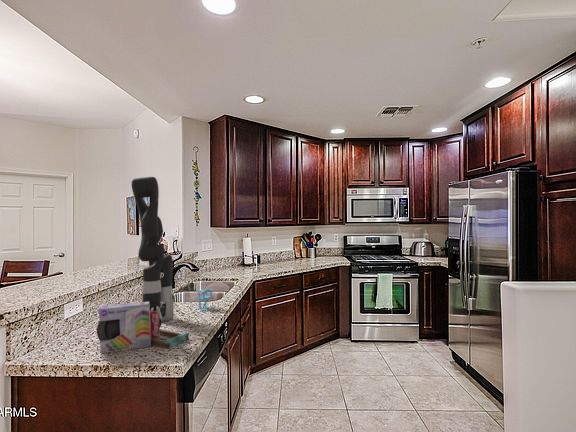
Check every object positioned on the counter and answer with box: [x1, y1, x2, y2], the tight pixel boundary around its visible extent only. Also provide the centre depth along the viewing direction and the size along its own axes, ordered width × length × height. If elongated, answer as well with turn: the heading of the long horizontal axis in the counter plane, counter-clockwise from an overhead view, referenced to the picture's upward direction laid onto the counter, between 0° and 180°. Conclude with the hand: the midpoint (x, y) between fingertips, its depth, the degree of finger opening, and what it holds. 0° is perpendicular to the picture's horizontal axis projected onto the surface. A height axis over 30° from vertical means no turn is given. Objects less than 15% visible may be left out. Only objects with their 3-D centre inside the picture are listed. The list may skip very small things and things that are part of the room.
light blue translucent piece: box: [196, 288, 215, 312], centre depth 198 cm, size 8×8×12 cm
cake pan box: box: [96, 301, 152, 353], centre depth 138 cm, size 19×5×18 cm, turn 108°
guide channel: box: [151, 329, 190, 350], centre depth 147 cm, size 11×21×3 cm, turn 61°
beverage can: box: [150, 310, 161, 339], centre depth 149 cm, size 6×6×12 cm
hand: (151, 329), depth 149 cm, fingers closed on beverage can, 6 cm apart
